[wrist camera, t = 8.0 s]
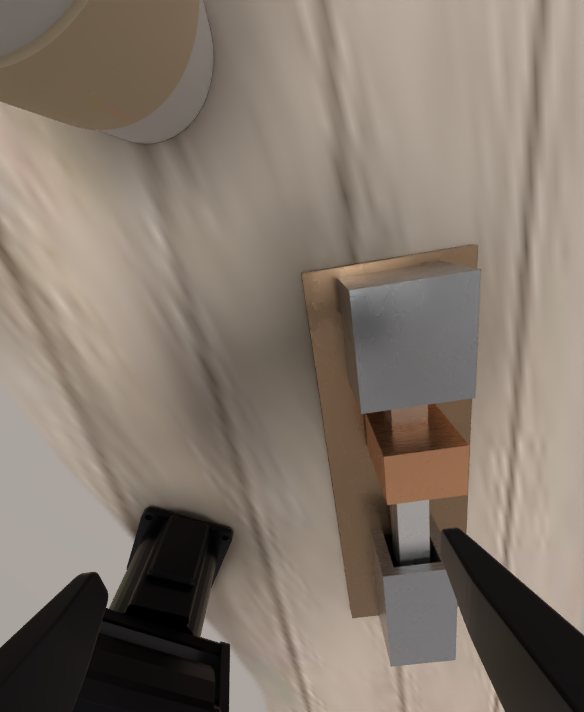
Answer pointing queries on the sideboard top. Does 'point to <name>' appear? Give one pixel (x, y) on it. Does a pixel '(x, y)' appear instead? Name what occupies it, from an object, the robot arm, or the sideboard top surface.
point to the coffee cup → (108, 63)
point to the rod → (415, 471)
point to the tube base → (387, 392)
